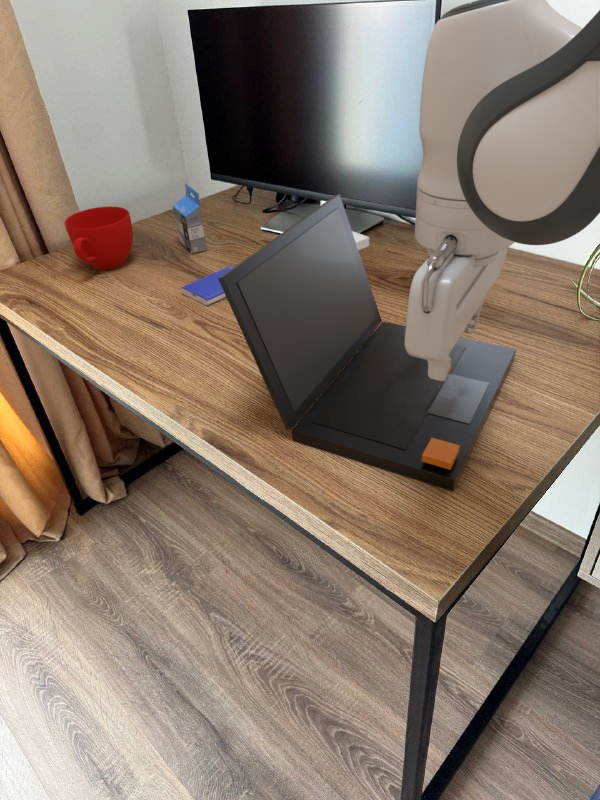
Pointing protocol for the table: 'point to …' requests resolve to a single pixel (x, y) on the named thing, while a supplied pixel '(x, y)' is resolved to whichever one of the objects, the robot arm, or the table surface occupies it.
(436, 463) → the key amber
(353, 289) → the laptop screen
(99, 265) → the ceramic cup
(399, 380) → the laptop
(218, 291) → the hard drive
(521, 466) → the table surface
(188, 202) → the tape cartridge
